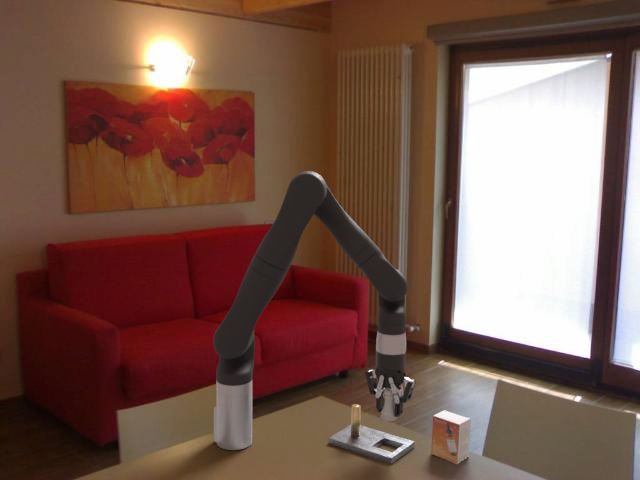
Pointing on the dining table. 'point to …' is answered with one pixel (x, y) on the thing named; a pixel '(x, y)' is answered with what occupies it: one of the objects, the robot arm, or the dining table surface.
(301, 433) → the dining table surface
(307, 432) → the dining table surface
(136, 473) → the dining table surface
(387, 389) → the rook chess piece
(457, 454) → the small box
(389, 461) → the bolt plate
